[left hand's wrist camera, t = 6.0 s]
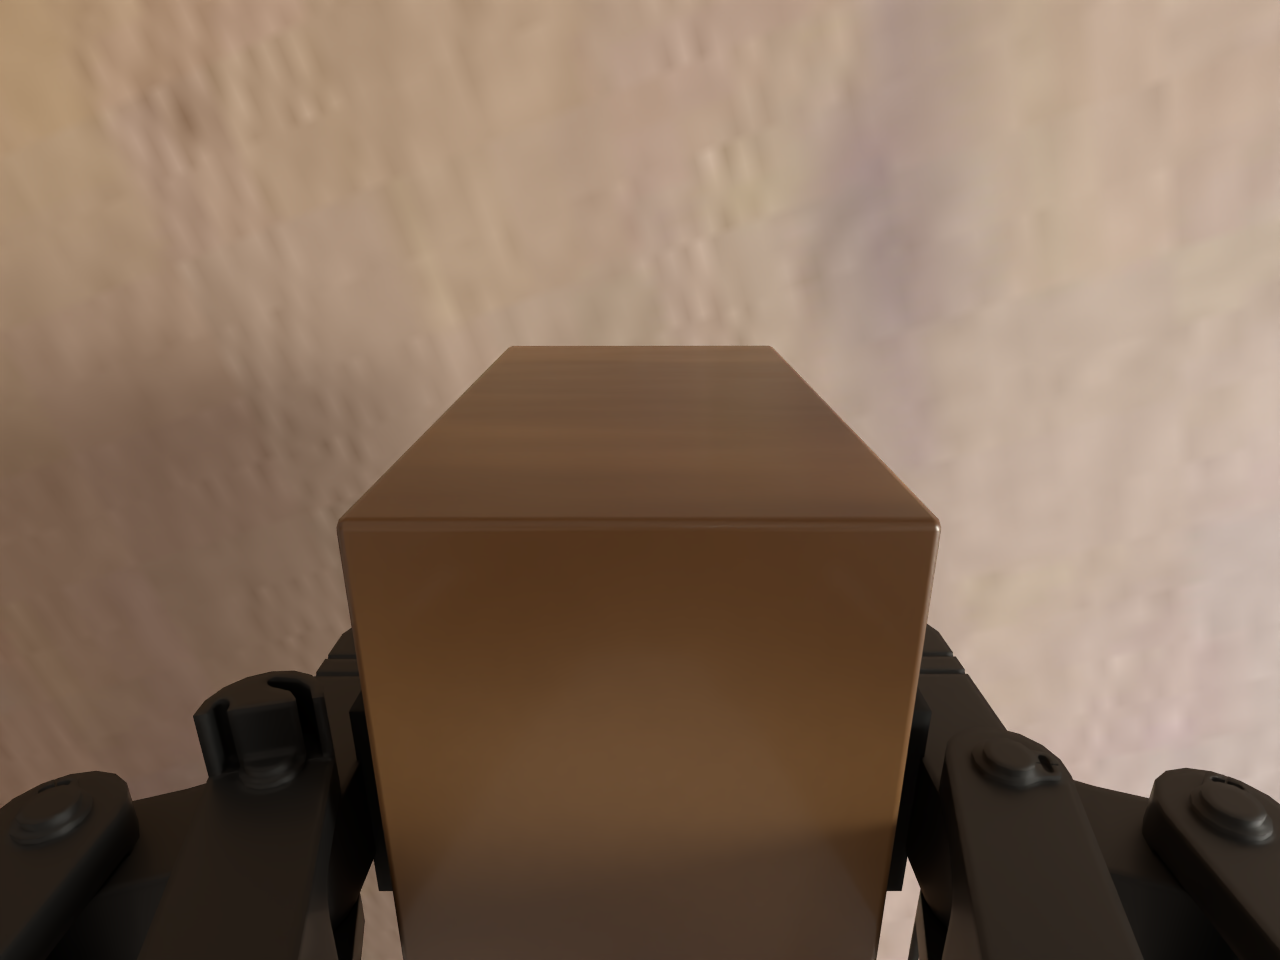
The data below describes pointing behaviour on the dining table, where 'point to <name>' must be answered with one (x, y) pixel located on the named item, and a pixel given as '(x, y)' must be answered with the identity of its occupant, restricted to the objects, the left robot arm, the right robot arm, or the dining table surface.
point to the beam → (639, 662)
